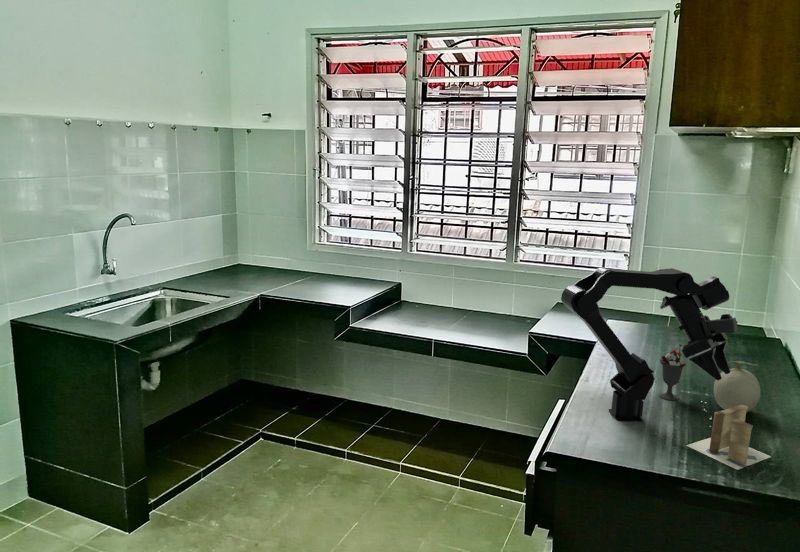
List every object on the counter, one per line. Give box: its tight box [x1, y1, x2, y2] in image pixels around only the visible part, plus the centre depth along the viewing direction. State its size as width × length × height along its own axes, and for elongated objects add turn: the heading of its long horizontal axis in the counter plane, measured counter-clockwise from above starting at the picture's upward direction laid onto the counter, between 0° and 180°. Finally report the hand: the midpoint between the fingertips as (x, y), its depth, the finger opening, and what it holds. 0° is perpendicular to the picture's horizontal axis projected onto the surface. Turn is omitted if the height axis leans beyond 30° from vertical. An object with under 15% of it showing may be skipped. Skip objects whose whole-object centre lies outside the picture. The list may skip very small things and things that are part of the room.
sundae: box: [658, 344, 687, 402], centre depth 163 cm, size 7×7×15 cm
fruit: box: [713, 360, 761, 413], centre depth 156 cm, size 10×12×15 cm
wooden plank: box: [709, 411, 754, 465], centre depth 130 cm, size 8×2×9 cm, turn 29°
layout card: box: [686, 437, 772, 471], centre depth 134 cm, size 12×12×1 cm
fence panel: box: [718, 405, 748, 450], centre depth 135 cm, size 9×1×9 cm, turn 119°
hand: (724, 376), depth 142 cm, fingers open, 9 cm apart
